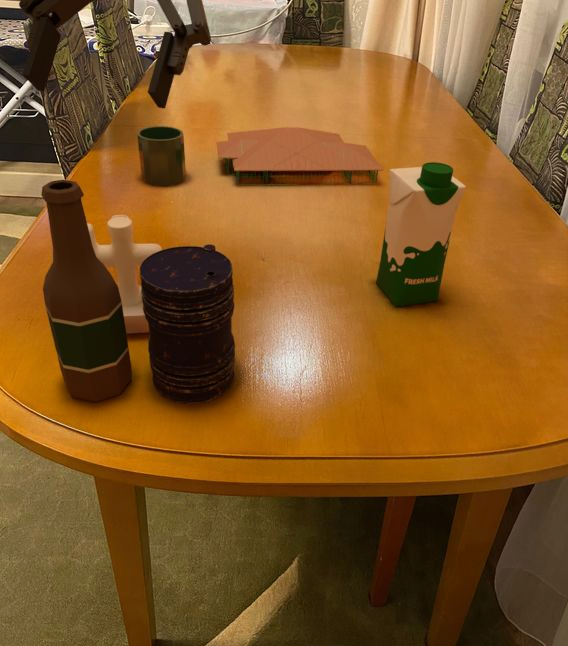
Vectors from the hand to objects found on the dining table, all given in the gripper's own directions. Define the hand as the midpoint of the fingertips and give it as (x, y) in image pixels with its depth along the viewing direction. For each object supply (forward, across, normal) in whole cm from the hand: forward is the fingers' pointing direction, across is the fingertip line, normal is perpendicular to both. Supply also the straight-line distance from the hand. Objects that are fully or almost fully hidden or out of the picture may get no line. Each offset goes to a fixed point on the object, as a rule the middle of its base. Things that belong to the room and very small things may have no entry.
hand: (93, 92), depth 61 cm
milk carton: (+5, -33, -38) cm, 51 cm away
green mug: (-15, +20, -58) cm, 63 cm away
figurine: (+20, +1, -23) cm, 30 cm away
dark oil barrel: (+25, -11, -18) cm, 33 cm away
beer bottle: (+28, -1, -15) cm, 32 cm away
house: (-27, -3, -70) cm, 75 cm away
